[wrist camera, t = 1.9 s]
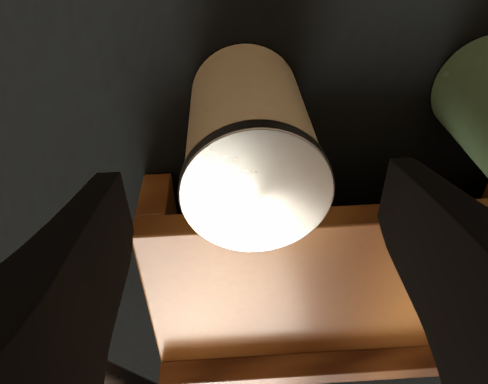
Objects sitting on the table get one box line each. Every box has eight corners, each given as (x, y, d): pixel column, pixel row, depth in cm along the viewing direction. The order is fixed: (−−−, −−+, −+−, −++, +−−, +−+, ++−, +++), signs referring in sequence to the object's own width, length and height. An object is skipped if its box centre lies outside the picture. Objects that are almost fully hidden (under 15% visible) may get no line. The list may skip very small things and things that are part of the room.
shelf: (523, 155, 19) (606, 234, 15) (465, 287, 25) (515, 371, 21) (143, 173, 19) (123, 260, 15) (169, 304, 24) (160, 394, 20)
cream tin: (308, 126, 18) (345, 233, 13) (210, 153, 19) (208, 266, 13) (285, 24, 15) (320, 106, 10) (172, 60, 16) (152, 154, 11)
